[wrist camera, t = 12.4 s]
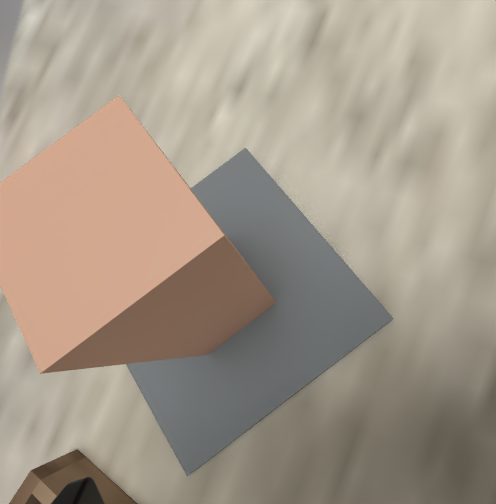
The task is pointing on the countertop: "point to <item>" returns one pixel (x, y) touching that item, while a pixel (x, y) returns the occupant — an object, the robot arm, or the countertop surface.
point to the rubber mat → (260, 320)
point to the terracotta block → (117, 253)
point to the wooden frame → (66, 481)
